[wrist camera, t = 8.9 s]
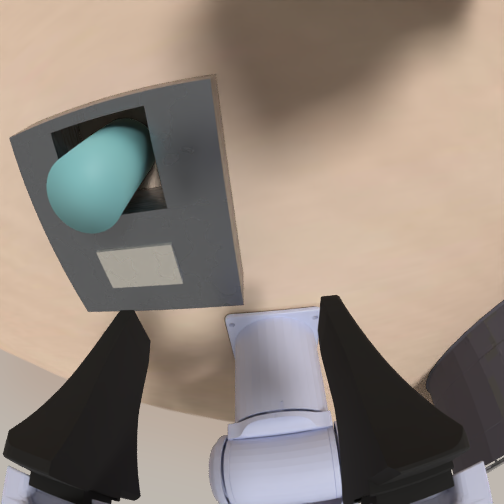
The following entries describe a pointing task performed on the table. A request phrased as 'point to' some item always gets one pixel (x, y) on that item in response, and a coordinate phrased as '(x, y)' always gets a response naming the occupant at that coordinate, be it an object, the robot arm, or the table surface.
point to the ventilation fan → (474, 389)
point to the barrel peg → (100, 176)
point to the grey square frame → (149, 206)
